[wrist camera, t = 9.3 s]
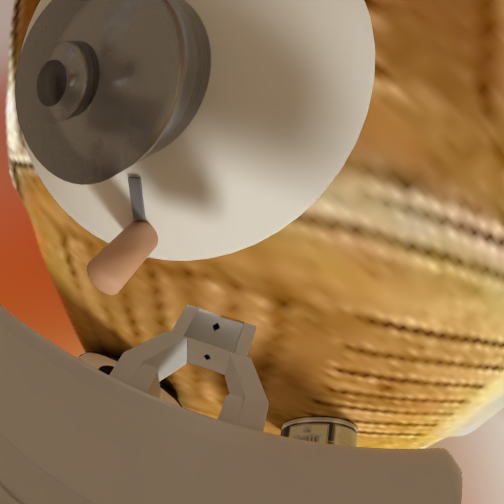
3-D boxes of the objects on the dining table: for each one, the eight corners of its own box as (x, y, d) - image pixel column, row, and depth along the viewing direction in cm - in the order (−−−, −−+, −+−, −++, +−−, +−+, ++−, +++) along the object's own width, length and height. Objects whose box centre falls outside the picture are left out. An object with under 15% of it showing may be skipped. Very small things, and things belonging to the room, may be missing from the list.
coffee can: (316, 445, 35) (300, 526, 24) (265, 425, 33) (241, 518, 21) (373, 431, 29) (365, 526, 18) (325, 408, 27) (306, 526, 16)
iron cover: (65, 16, 8) (0, 19, 5) (217, -27, 7) (164, -67, 3) (70, 158, 14) (12, 191, 10) (209, 163, 12) (157, 206, 8)
